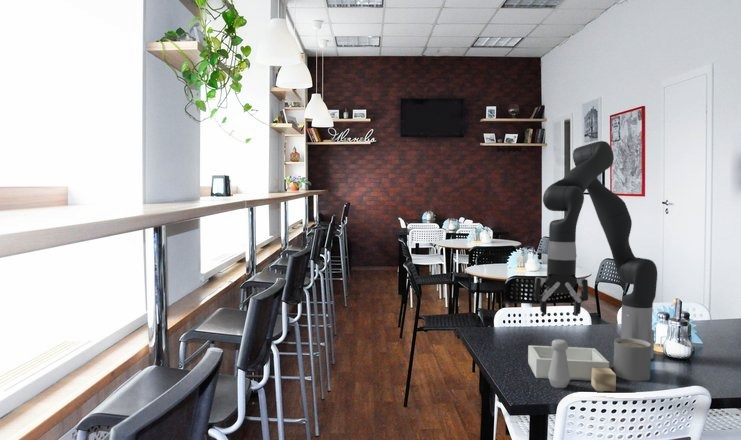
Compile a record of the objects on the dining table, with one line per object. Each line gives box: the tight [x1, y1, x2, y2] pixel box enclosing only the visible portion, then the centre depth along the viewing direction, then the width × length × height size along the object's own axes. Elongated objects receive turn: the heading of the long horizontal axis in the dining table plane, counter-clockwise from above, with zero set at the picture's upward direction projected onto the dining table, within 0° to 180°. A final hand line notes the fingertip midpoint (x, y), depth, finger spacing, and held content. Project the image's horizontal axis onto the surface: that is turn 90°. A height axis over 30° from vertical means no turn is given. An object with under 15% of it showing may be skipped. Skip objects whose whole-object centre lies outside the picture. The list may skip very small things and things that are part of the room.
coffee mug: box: [612, 337, 652, 382], centre depth 160 cm, size 13×10×10 cm
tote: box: [527, 345, 610, 382], centre depth 161 cm, size 20×14×6 cm
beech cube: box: [590, 368, 617, 392], centre depth 147 cm, size 5×5×5 cm
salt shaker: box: [547, 338, 571, 389], centre depth 149 cm, size 6×6×13 cm
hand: (559, 314), depth 148 cm, fingers open, 8 cm apart
